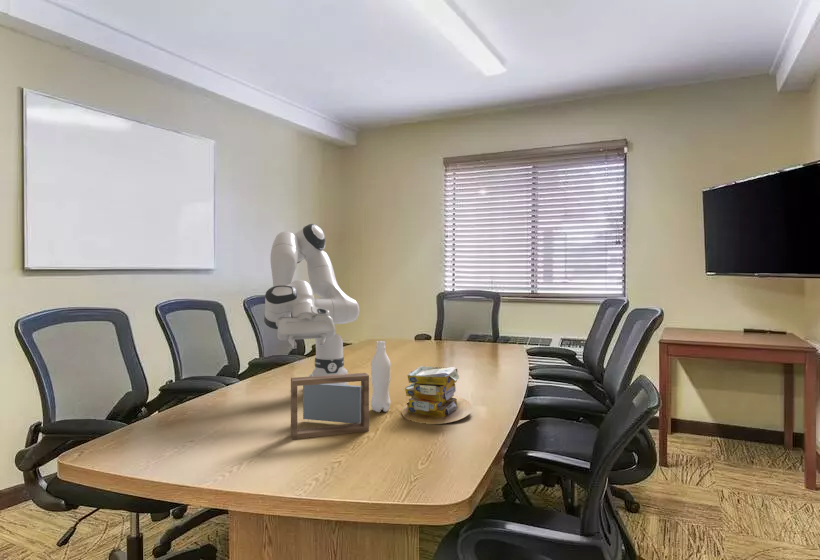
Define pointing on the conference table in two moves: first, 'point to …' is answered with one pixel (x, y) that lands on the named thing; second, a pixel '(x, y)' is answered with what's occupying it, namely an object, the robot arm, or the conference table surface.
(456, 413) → the yellow stacked packages
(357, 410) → the door
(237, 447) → the conference table surface
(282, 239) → the robot arm
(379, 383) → the water bottle
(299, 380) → the brown wooden frame
